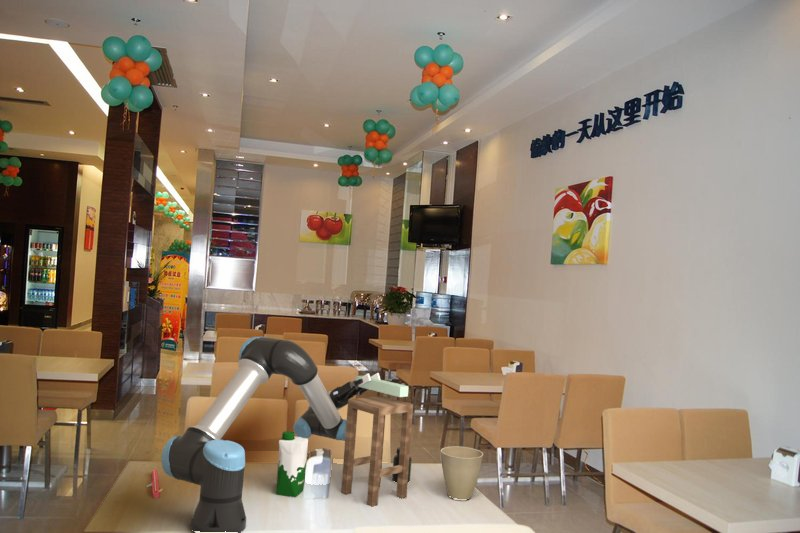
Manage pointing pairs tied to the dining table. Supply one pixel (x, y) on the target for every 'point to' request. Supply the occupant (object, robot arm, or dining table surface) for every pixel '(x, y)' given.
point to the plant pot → (461, 470)
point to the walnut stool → (377, 445)
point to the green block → (385, 387)
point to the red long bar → (155, 484)
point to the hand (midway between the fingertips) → (374, 376)
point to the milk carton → (291, 464)
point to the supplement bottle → (396, 462)
